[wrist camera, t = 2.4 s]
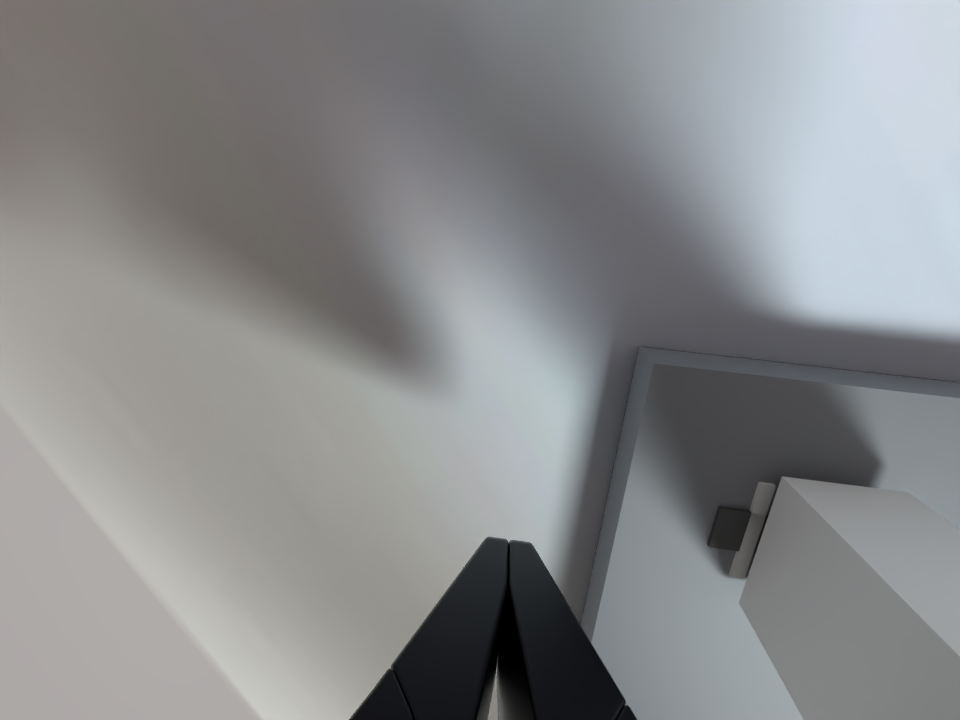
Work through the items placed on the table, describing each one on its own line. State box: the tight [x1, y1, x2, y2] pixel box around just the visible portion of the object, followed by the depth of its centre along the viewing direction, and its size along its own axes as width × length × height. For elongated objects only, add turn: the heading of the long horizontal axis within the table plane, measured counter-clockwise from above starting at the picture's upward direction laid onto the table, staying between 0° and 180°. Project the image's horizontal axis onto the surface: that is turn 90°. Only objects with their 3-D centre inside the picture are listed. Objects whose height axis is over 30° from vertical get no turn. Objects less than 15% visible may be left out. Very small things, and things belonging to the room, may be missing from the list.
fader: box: [739, 476, 960, 720], centre depth 7 cm, size 3×2×6 cm
